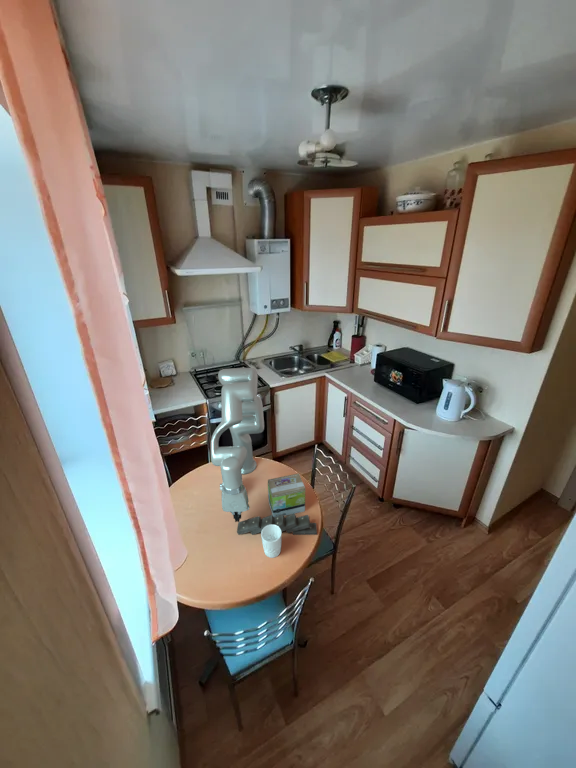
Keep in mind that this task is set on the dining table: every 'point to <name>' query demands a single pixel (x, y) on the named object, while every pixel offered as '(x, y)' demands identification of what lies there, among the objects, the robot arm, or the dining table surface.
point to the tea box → (286, 495)
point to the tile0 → (249, 525)
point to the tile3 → (289, 522)
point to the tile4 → (300, 524)
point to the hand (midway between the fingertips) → (237, 519)
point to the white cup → (271, 540)
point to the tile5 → (307, 530)
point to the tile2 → (279, 521)
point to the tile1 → (264, 524)
